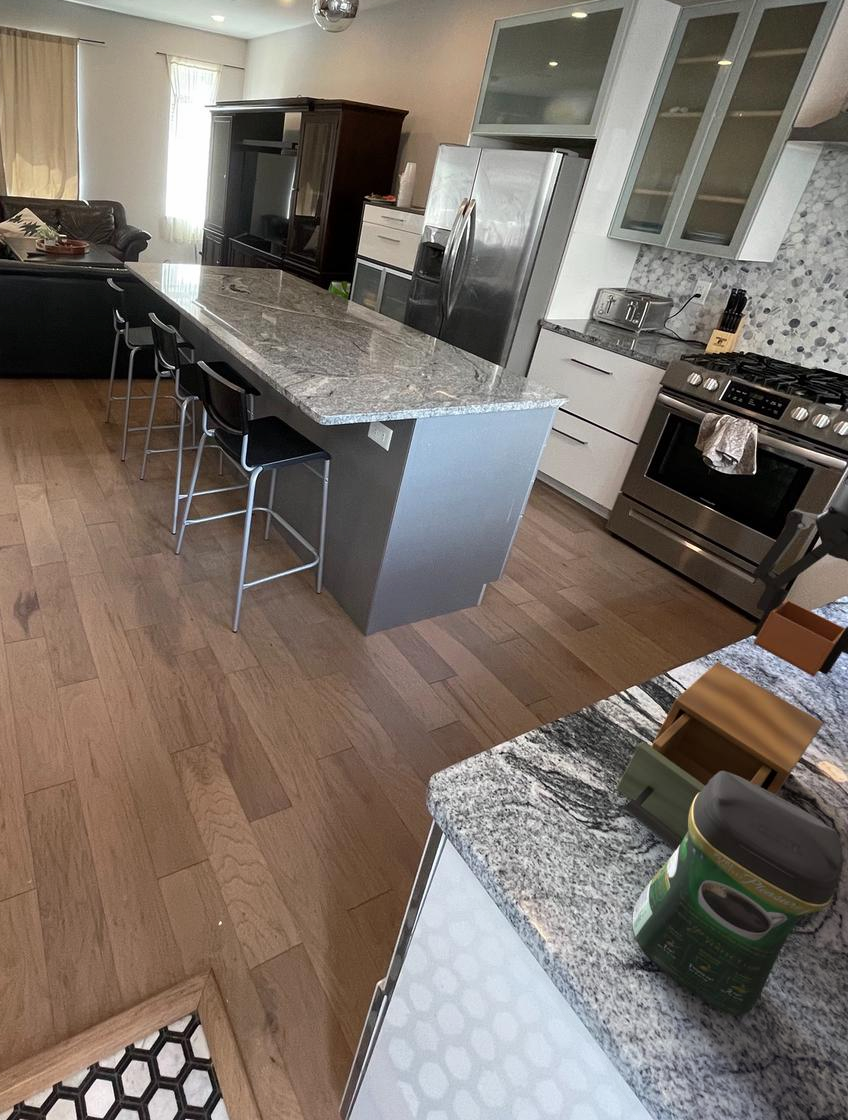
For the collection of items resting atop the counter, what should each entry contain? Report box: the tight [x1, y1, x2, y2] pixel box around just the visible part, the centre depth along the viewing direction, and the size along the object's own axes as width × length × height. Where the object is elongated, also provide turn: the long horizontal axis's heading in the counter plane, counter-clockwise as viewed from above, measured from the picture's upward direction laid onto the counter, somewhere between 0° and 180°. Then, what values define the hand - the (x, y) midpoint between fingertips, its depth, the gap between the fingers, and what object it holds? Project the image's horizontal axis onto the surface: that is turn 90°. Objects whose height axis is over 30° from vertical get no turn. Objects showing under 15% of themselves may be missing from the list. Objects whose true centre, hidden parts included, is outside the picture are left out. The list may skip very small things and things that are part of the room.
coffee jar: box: [631, 771, 844, 1016], centre depth 53 cm, size 10×8×19 cm
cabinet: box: [650, 661, 824, 796], centre depth 76 cm, size 14×12×9 cm
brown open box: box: [753, 598, 846, 677], centre depth 79 cm, size 6×6×5 cm
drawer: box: [616, 712, 773, 852], centre depth 68 cm, size 17×10×7 cm, turn 127°
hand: (791, 650), depth 79 cm, fingers closed on brown open box, 6 cm apart
